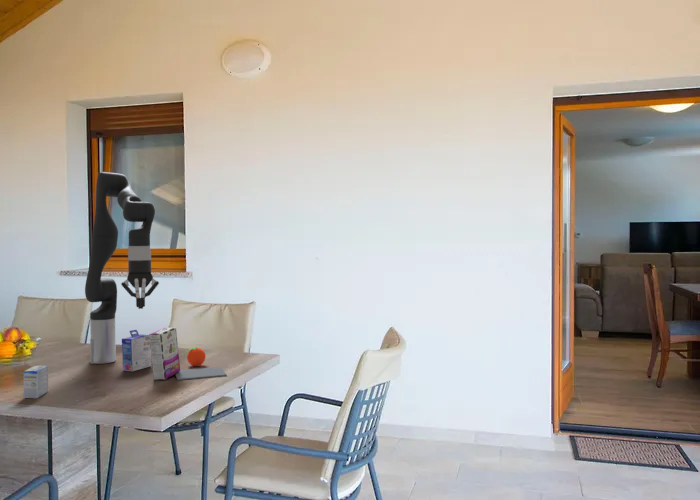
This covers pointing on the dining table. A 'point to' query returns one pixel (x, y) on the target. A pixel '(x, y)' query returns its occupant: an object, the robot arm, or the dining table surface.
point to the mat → (200, 373)
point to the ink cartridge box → (136, 352)
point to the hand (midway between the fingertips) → (140, 308)
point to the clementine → (196, 356)
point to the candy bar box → (164, 353)
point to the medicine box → (35, 381)
